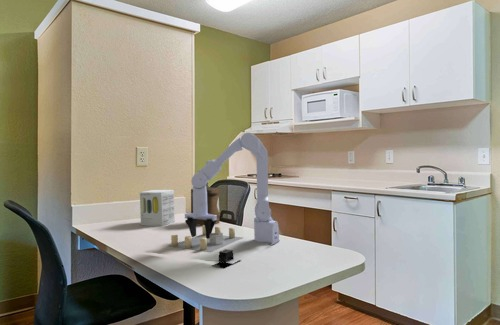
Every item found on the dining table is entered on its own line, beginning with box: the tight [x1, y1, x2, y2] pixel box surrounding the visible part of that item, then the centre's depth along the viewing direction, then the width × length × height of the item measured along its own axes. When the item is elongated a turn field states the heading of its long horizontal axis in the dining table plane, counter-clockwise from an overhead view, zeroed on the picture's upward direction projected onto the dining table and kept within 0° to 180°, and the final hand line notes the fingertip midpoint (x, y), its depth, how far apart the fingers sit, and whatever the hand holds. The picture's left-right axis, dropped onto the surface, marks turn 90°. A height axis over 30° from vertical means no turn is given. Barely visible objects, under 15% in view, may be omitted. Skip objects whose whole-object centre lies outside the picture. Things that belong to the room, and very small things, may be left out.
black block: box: [211, 248, 242, 270], centre depth 114 cm, size 12×7×5 cm, turn 146°
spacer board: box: [167, 225, 244, 253], centre depth 139 cm, size 20×24×5 cm
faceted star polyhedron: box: [210, 232, 224, 245], centre depth 137 cm, size 6×5×4 cm
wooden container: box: [190, 182, 220, 226], centre depth 185 cm, size 15×15×22 cm
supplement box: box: [139, 189, 176, 227], centre depth 187 cm, size 13×13×18 cm
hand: (201, 237), depth 140 cm, fingers open, 7 cm apart
